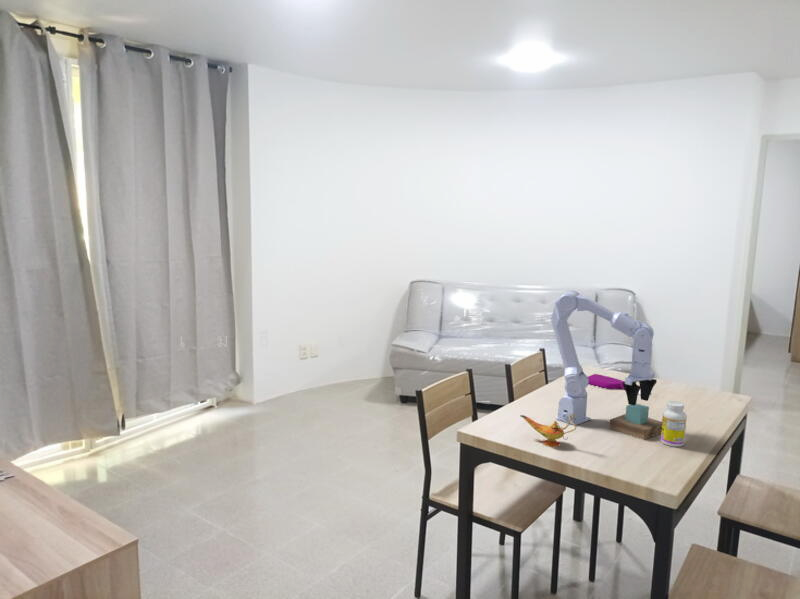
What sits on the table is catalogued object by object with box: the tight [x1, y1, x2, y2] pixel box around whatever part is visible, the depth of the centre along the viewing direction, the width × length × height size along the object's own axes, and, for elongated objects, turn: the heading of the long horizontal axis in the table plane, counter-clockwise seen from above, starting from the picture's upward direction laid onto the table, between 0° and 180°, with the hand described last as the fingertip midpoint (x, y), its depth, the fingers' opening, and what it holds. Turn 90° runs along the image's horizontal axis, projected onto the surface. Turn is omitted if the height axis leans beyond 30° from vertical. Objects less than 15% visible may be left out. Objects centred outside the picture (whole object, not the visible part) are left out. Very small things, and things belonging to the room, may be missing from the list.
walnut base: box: [608, 413, 662, 441], centre depth 186 cm, size 12×12×3 cm
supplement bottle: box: [660, 400, 688, 448], centre depth 175 cm, size 7×7×13 cm
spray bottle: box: [587, 373, 640, 396], centre depth 232 cm, size 3×11×24 cm
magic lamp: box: [519, 414, 577, 448], centre depth 175 cm, size 7×18×11 cm, turn 55°
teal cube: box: [625, 402, 650, 425], centre depth 186 cm, size 5×5×5 cm
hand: (638, 402), depth 185 cm, fingers open, 7 cm apart
